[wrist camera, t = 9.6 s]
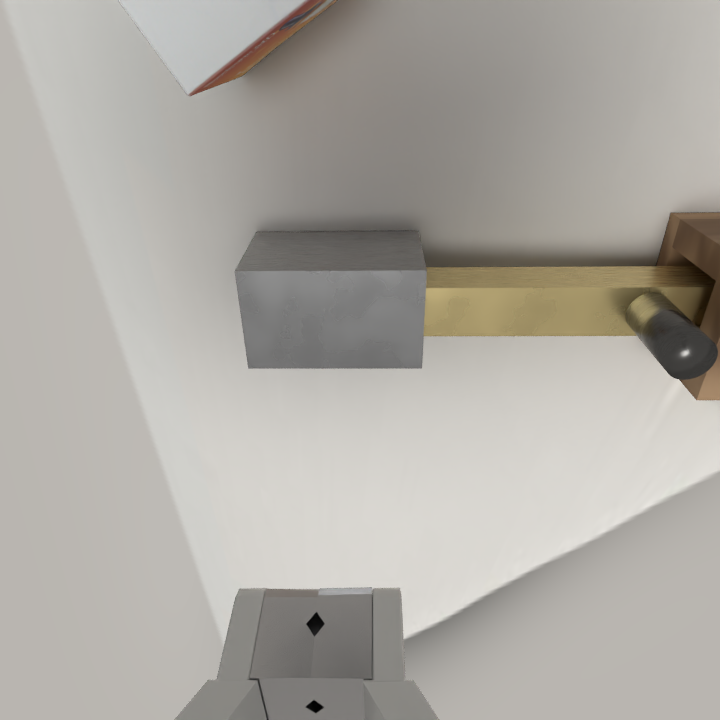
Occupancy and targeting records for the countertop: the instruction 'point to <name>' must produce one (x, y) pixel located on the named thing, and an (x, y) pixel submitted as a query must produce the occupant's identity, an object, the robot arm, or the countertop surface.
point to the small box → (217, 34)
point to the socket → (716, 258)
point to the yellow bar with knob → (579, 307)
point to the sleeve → (333, 299)
